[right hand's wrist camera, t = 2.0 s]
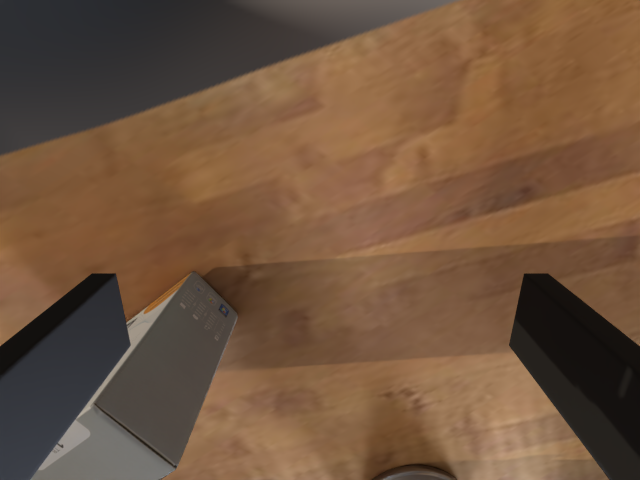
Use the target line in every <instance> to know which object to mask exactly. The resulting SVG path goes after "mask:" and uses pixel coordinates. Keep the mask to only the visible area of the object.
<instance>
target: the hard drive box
mask: <svg viewBox="0 0 640 480" xmlns="http://www.w3.org/2000/svg"><path fill="white" fill-rule="evenodd" d="M237 319H238V316H237V313H236V312H235V311H234V310H233V308H232V307H231V306H230V305H228V304H227V303H226V301H225V300H223V299H222V298H221V297H220V296H219V295H218V294H217V293H216V292H215V291H214V290H213V289H212V288H211V287H210V286H209V285H208V284H207V283H206V282H205V281H204V280H203V279H202V278H201V277H200V276H199V275H198V274H197V273H196V272H195V271H193V272H191V273H190V274H189V275H187V276H186V277H185V278H183V279H182V280H181V281H180V282H178V283H177V284H176V285H174V286H173V287H172V288H171V289H169V290H168V291H167V292H165V293H164V294H163V295H162V296H160V297H159V298H158V299H156V300H155V301H154V302H153V303H151V304H150V305H149V306H148V307H146V308H145V309H144V310H142V311H141V312H140V313H139V314H137V315H136V316H135V317H133V318H132V319H131V320H129V321H128V322H127V323H126V324H127V329H128V334H129V339H130V343H131V346H130V347H129V349H128V350H127V351H126V353H125V354H124V355H123V357H122V358H121V359H120V361H119V362H118V363H117V365H116V366H115V367H114V369H113V370H112V371H111V373H110V374H109V375H108V377H107V378H106V379H105V381H104V382H103V383H102V385H101V386H100V387H99V389H98V390H97V391H96V393H95V394H94V395H93V397H92V398H91V399H90V401H89V402H88V403H87V405H86V406H85V407H84V409H83V410H82V411H81V413H80V414H79V415H78V417H77V418H76V419H75V421H74V422H73V423H72V425H71V426H70V427H69V429H68V430H67V431H66V433H65V434H64V435H63V437H62V438H61V439H60V441H59V442H58V443H57V445H56V446H55V447H54V449H53V450H52V451H51V453H50V454H49V455H48V457H47V458H46V459H45V461H44V462H43V463H42V465H41V466H40V467H39V469H38V470H37V471H36V473H35V474H34V475H33V477H32V478H31V479H30V480H161V479H162V478H164V477H165V476H167V475H168V474H170V473H171V472H173V471H174V470H176V468H177V466H178V464H179V462H180V459H181V457H182V455H183V452H184V450H185V447H186V445H187V443H188V440H189V437H190V435H191V432H192V430H193V427H194V425H195V422H196V420H197V417H198V415H199V412H200V410H201V407H202V405H203V402H204V400H205V397H206V395H207V392H208V390H209V388H210V385H211V383H212V380H213V378H214V375H215V373H216V370H217V368H218V365H219V363H220V361H221V358H222V356H223V353H224V351H225V348H226V346H227V343H228V341H229V338H230V336H231V334H232V331H233V329H234V326H235V324H236V321H237Z"/></svg>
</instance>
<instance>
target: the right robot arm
mask: <svg viewBox="0 0 640 480" xmlns="http://www.w3.org/2000/svg"><path fill="white" fill-rule="evenodd" d="M130 346H131V343H130V339H129V334H128V329H127V324H126V320H125V315H124V310H123V305H122V300H121V296H120V291H119V286H118V281H117V277H116V274H91V275H90V276H88V277H87V278H86V279H85V280H83V281H82V282H81V283H80V284H78V285H77V286H76V287H75V288H73V289H72V290H71V291H69V292H68V293H67V294H66V295H64V296H63V297H62V298H61V299H59V300H58V301H57V302H56V303H54V304H53V305H52V306H51V307H49V308H48V309H47V310H46V311H44V312H43V313H42V314H41V315H39V316H38V317H37V318H35V319H34V320H33V321H32V322H30V323H29V324H28V325H27V326H25V327H24V328H23V329H22V330H20V331H19V332H18V333H17V334H15V335H14V336H13V337H12V338H10V339H9V340H8V341H6V342H5V343H4V344H3V345H1V346H0V480H30V479H31V478H32V477H33V475H34V474H35V473H36V471H37V470H38V469H39V467H40V466H41V465H42V463H43V462H44V461H45V459H46V458H47V457H48V455H49V454H50V453H51V451H52V450H53V449H54V447H55V446H56V445H57V443H58V442H59V441H60V439H61V438H62V437H63V435H64V434H65V433H66V431H67V430H68V429H69V427H70V426H71V425H72V423H73V422H74V421H75V419H76V418H77V417H78V415H79V414H80V413H81V411H82V410H83V409H84V407H85V406H86V405H87V403H88V402H89V401H90V399H91V398H92V397H93V395H94V394H95V393H96V391H97V390H98V389H99V387H100V386H101V385H102V383H103V382H104V381H105V379H106V378H107V377H108V375H109V374H110V373H111V371H112V370H113V369H114V367H115V366H116V365H117V363H118V362H119V361H120V359H121V358H122V357H123V355H124V354H125V353H126V351H127V350H128V349H129V347H130ZM509 346H510V347H511V349H512V350H513V351H514V353H515V354H516V355H517V357H518V358H519V359H520V361H521V362H522V363H523V365H524V366H525V367H526V369H527V370H528V371H529V373H530V374H531V375H532V377H533V378H534V379H535V381H536V382H537V383H538V385H539V386H540V387H541V389H542V390H543V391H544V393H545V394H546V395H547V397H548V398H549V399H550V401H551V402H552V403H553V405H554V406H555V407H556V409H557V410H558V411H559V413H560V414H561V415H562V417H563V418H564V419H565V421H566V422H567V423H568V425H569V426H570V427H571V429H572V430H573V431H574V433H575V434H576V435H577V437H578V438H579V439H580V441H581V442H582V443H583V445H584V446H585V447H586V449H587V450H588V451H589V453H590V454H591V455H592V457H593V458H594V459H595V461H596V462H597V463H598V465H599V466H600V467H601V469H602V470H603V471H604V473H605V474H606V475H607V477H608V478H609V479H610V480H640V346H639V345H637V344H636V343H635V342H634V341H632V340H631V339H630V338H628V337H627V336H626V335H625V334H623V333H622V332H621V331H620V330H618V329H617V328H616V327H615V326H613V325H612V324H611V323H610V322H608V321H607V320H606V319H605V318H603V317H602V316H601V315H599V314H598V313H597V312H596V311H594V310H593V309H592V308H591V307H589V306H588V305H587V304H586V303H584V302H583V301H582V300H581V299H579V298H578V297H577V296H576V295H574V294H573V293H572V292H571V291H569V290H568V289H567V288H565V287H564V286H563V285H562V284H560V283H559V282H558V281H557V280H555V279H554V278H553V277H552V276H550V275H549V274H524V277H523V281H522V286H521V291H520V296H519V300H518V305H517V310H516V315H515V320H514V324H513V329H512V334H511V339H510V343H509ZM373 480H456V479H455V478H454V477H453V476H451V475H450V474H448V473H447V472H445V471H443V470H440V469H437V468H434V467H429V466H422V465H410V466H403V467H398V468H394V469H391V470H388V471H386V472H384V473H382V474H380V475H378V476H377V477H375V478H374V479H373Z"/></svg>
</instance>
